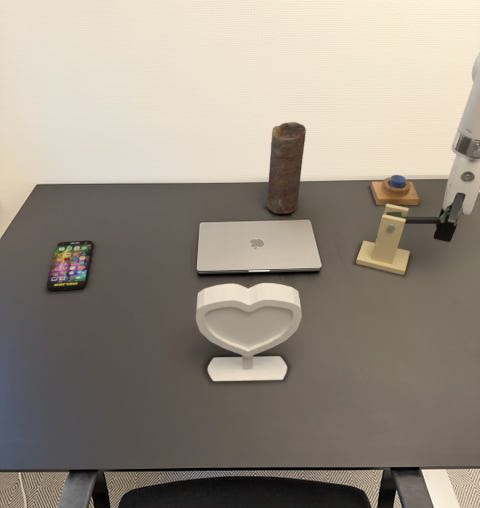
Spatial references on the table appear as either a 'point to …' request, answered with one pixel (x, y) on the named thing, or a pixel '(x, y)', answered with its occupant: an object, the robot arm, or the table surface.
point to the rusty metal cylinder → (285, 167)
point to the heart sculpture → (248, 327)
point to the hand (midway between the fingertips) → (442, 233)
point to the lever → (417, 218)
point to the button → (397, 181)
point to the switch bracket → (386, 244)
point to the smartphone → (70, 265)
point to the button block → (394, 193)
